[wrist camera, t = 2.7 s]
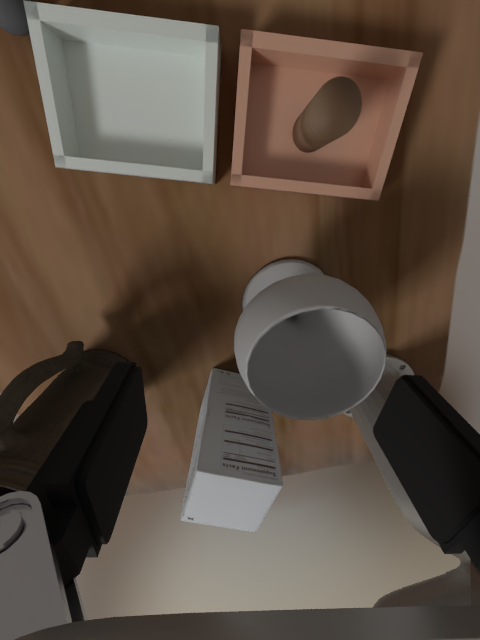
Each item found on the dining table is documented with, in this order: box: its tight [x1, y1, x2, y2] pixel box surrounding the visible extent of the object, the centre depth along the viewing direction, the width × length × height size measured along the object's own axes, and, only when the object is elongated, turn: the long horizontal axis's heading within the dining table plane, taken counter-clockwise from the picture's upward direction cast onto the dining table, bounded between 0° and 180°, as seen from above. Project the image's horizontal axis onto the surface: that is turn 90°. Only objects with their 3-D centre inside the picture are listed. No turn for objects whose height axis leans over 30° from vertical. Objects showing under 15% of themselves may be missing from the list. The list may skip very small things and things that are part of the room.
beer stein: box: [0, 341, 128, 497], centre depth 31 cm, size 15×11×20 cm
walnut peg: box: [292, 76, 362, 153], centre depth 22 cm, size 4×4×8 cm
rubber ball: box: [0, 0, 31, 36], centre depth 21 cm, size 4×4×4 cm
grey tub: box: [23, 0, 221, 184], centre depth 24 cm, size 15×11×4 cm
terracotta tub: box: [231, 29, 423, 201], centre depth 25 cm, size 15×11×4 cm
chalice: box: [234, 259, 387, 420], centre depth 28 cm, size 14×14×15 cm
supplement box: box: [180, 368, 283, 532], centre depth 35 cm, size 10×9×17 cm
